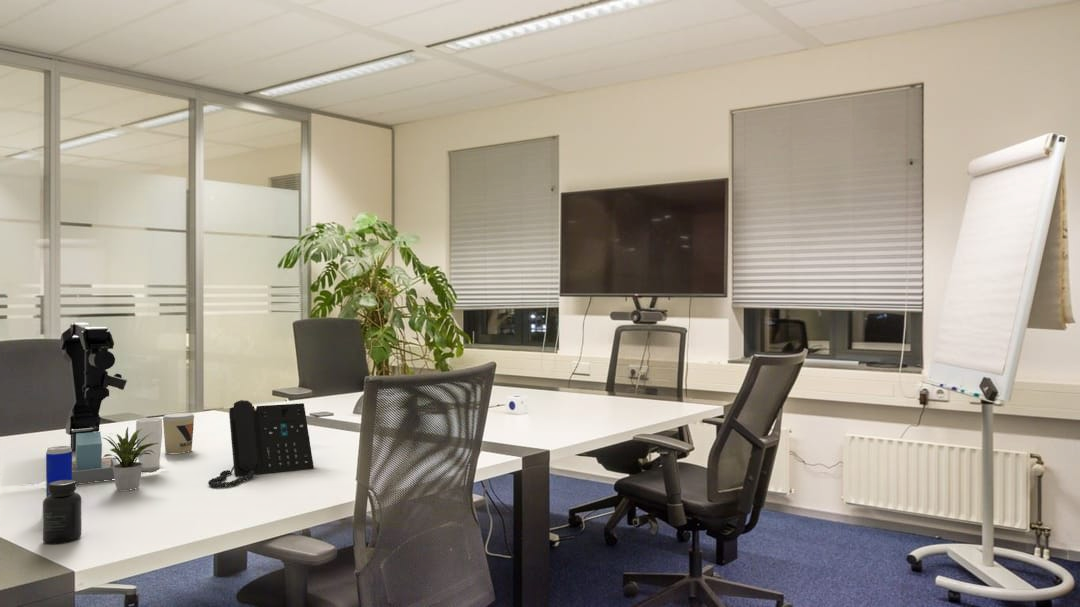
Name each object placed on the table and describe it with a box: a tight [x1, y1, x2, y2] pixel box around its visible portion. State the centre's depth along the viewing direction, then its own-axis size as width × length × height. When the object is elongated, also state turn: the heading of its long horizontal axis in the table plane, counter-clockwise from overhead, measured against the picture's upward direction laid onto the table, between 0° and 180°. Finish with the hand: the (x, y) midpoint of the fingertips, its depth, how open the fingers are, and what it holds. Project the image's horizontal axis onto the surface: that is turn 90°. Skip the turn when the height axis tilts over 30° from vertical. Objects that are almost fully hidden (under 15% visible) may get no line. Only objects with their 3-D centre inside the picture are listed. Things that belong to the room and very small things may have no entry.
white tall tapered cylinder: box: [135, 417, 163, 473], centre depth 218 cm, size 7×7×15 cm
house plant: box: [99, 426, 158, 491], centre depth 197 cm, size 14×14×16 cm
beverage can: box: [45, 445, 73, 498], centre depth 178 cm, size 5×5×15 cm
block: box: [75, 431, 103, 471], centre depth 216 cm, size 7×6×9 cm
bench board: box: [72, 456, 112, 470], centre depth 221 cm, size 11×13×2 cm
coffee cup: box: [162, 412, 195, 454], centre depth 246 cm, size 9×9×12 cm
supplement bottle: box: [42, 480, 83, 545], centre depth 157 cm, size 7×7×12 cm
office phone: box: [207, 399, 315, 489], centre depth 217 cm, size 29×28×20 cm
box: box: [72, 457, 119, 485], centre depth 211 cm, size 14×13×4 cm
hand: (95, 417), depth 234 cm, fingers closed
